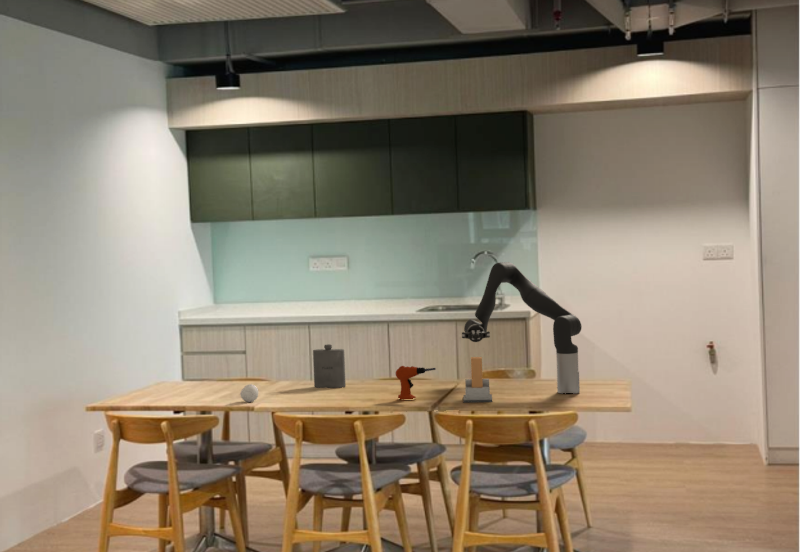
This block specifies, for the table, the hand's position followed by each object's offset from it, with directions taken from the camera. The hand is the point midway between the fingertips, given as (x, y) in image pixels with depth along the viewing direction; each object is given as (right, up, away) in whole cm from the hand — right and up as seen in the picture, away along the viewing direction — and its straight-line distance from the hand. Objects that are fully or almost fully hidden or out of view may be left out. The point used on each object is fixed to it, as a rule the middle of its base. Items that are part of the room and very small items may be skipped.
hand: (475, 336), depth 462 cm
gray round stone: (-98, -29, +2) cm, 102 cm away
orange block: (0, -25, -15) cm, 29 cm away
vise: (0, -26, -13) cm, 29 cm away
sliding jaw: (0, -24, -11) cm, 27 cm away
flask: (-66, -26, +37) cm, 80 cm away
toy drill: (-26, -27, -8) cm, 38 cm away
